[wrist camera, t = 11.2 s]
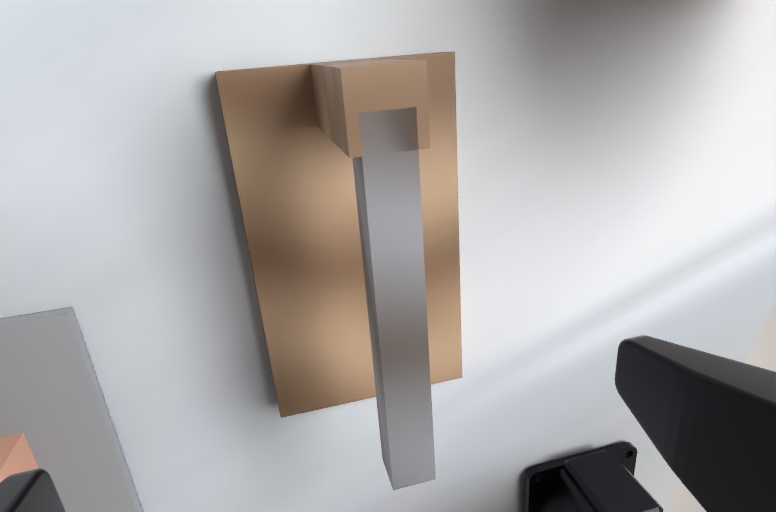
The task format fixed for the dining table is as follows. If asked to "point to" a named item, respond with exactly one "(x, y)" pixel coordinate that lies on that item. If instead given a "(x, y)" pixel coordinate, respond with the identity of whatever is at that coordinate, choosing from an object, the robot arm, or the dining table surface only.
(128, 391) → the dining table surface
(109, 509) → the coaster
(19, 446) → the u-shaped block
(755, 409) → the robot arm
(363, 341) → the stand
